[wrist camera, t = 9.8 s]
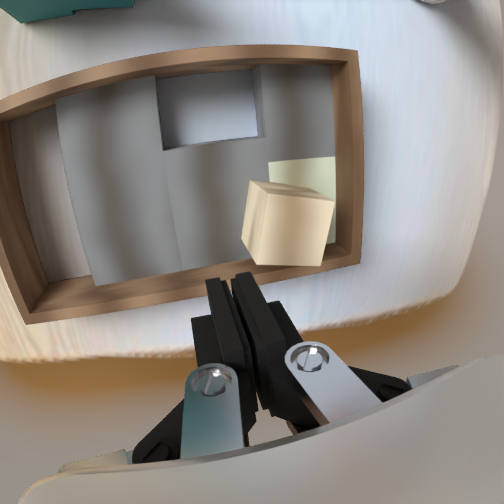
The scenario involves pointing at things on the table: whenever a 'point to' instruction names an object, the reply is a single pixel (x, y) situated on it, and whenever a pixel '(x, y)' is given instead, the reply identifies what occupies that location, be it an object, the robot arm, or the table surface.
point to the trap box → (182, 176)
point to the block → (286, 224)
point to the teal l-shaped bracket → (54, 7)
